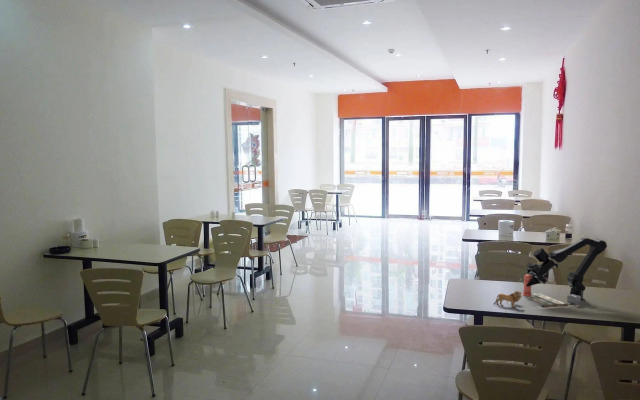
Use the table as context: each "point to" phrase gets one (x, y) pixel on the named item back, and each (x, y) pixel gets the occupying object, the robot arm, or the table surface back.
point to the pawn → (526, 289)
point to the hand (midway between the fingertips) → (525, 285)
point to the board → (545, 301)
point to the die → (574, 299)
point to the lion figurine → (509, 298)
